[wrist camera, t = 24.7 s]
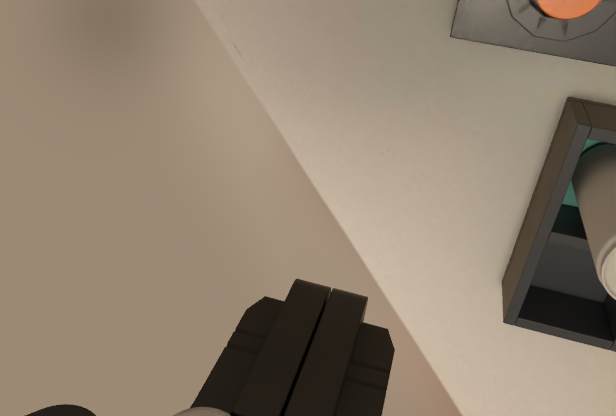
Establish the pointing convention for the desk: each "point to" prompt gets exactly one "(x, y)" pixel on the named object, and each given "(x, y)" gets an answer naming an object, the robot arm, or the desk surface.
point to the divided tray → (562, 242)
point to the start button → (567, 7)
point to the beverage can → (599, 208)
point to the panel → (539, 29)
